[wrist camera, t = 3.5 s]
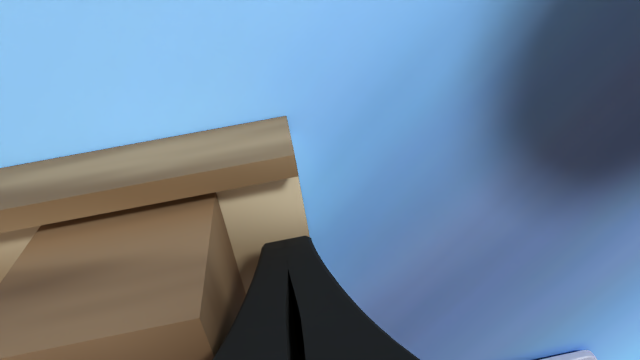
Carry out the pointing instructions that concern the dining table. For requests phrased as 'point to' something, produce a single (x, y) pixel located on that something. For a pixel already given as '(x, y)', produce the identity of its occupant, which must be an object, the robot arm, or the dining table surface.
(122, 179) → the board
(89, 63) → the dining table surface
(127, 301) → the walnut block
